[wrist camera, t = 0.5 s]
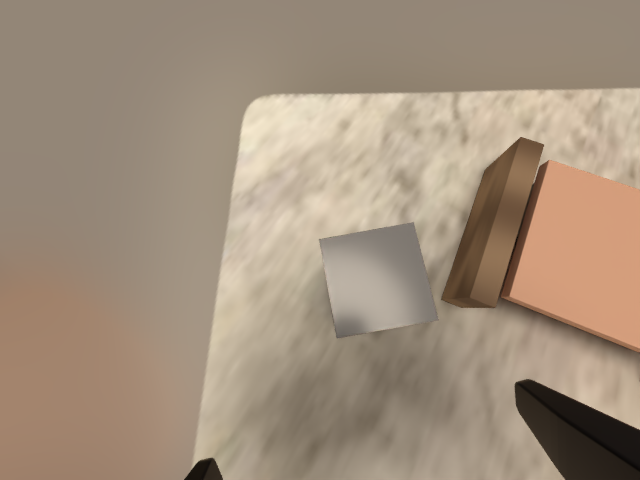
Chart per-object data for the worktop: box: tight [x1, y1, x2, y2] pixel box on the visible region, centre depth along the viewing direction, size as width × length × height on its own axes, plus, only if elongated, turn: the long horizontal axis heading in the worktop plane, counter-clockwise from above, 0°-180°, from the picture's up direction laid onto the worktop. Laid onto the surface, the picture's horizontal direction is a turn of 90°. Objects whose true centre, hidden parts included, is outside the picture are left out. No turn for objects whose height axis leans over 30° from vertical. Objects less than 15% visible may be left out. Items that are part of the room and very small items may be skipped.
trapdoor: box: [501, 160, 640, 353], centre depth 20 cm, size 10×12×4 cm
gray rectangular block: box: [319, 222, 439, 338], centre depth 18 cm, size 4×4×11 cm
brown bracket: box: [441, 137, 544, 308], centre depth 21 cm, size 12×16×5 cm
